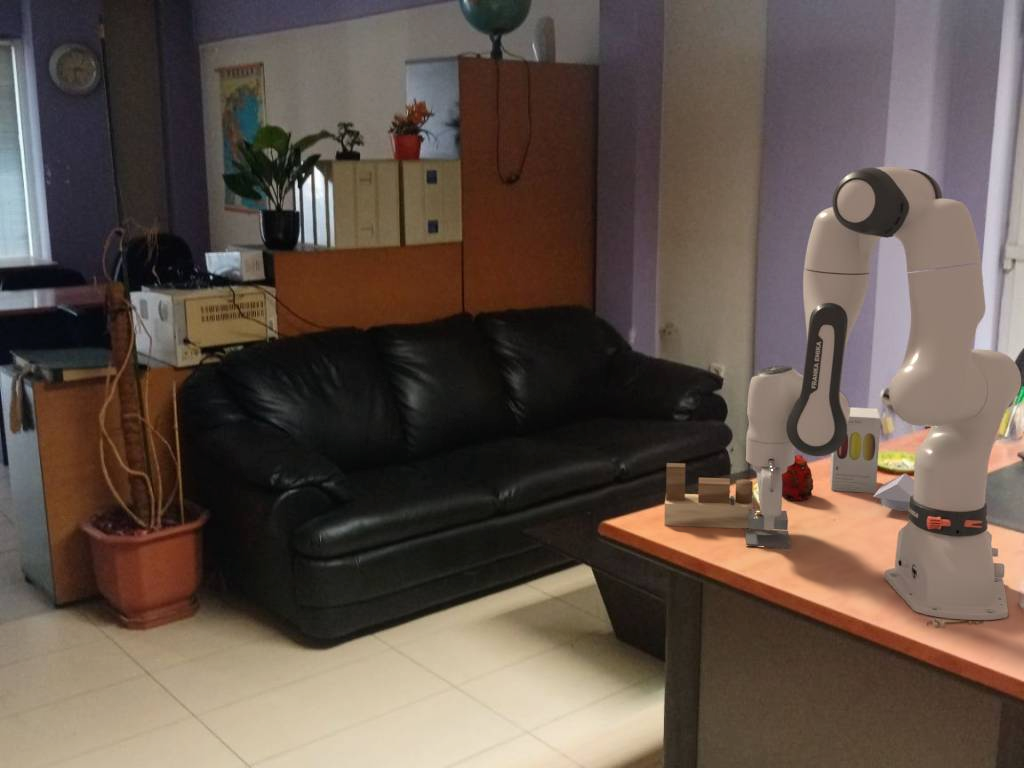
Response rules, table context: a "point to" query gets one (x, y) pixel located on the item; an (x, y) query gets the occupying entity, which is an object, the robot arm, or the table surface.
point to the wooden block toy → (706, 501)
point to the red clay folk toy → (797, 480)
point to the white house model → (896, 493)
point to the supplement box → (857, 453)
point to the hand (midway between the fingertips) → (767, 523)
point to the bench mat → (767, 538)
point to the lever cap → (758, 520)
